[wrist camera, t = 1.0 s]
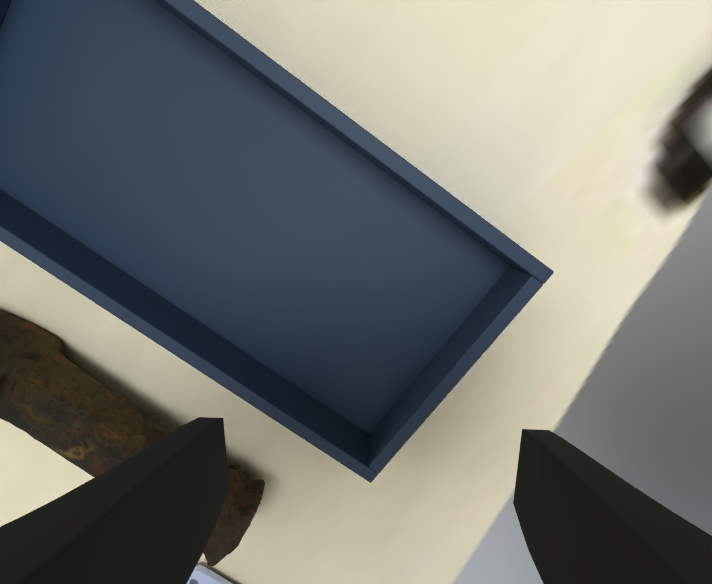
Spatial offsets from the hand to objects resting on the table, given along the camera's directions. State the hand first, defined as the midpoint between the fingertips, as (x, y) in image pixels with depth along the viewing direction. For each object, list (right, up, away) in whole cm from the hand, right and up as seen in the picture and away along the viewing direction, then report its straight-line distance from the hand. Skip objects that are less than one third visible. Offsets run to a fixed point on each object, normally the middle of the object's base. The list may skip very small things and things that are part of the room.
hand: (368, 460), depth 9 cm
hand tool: (-14, -2, +12) cm, 18 cm away
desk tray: (-6, +8, +9) cm, 13 cm away
